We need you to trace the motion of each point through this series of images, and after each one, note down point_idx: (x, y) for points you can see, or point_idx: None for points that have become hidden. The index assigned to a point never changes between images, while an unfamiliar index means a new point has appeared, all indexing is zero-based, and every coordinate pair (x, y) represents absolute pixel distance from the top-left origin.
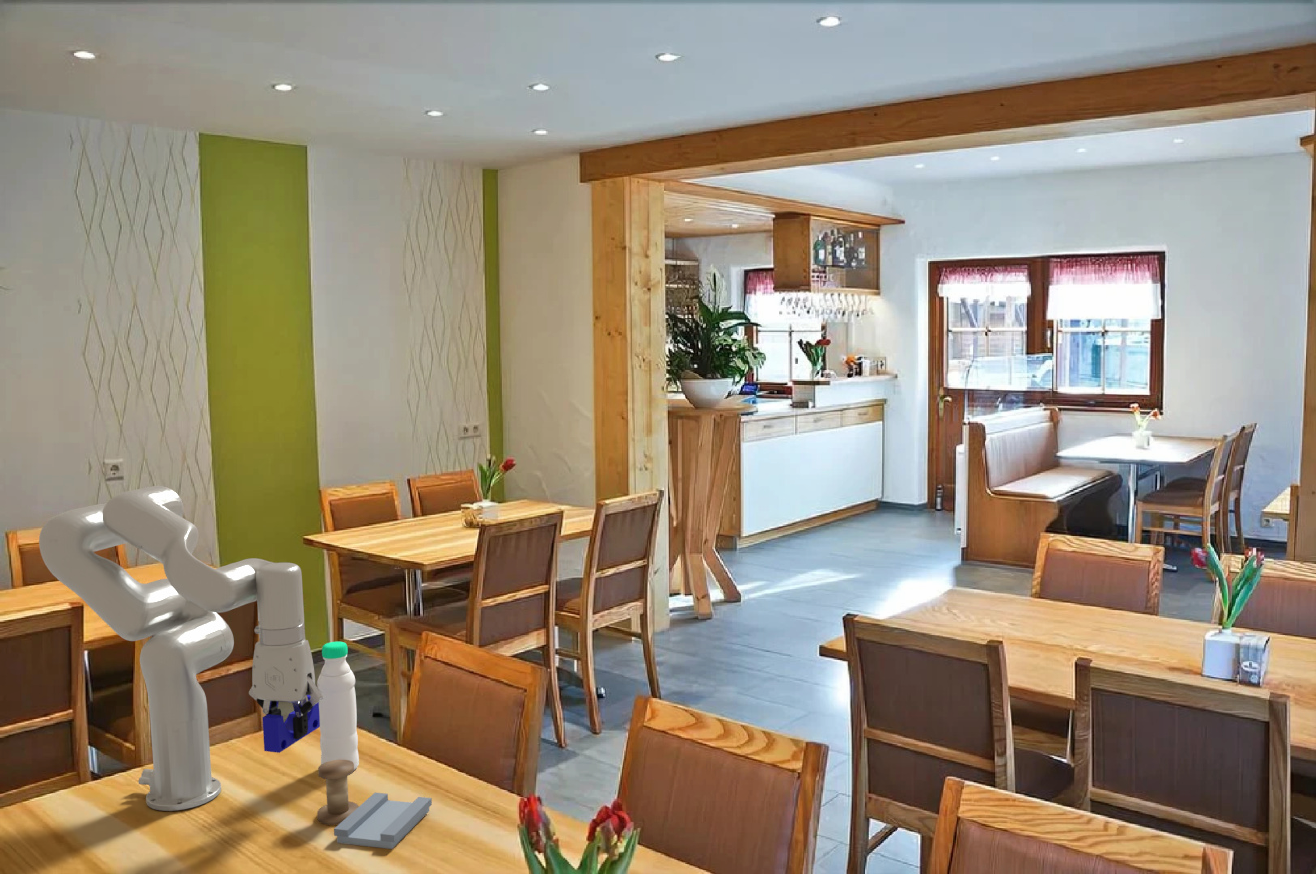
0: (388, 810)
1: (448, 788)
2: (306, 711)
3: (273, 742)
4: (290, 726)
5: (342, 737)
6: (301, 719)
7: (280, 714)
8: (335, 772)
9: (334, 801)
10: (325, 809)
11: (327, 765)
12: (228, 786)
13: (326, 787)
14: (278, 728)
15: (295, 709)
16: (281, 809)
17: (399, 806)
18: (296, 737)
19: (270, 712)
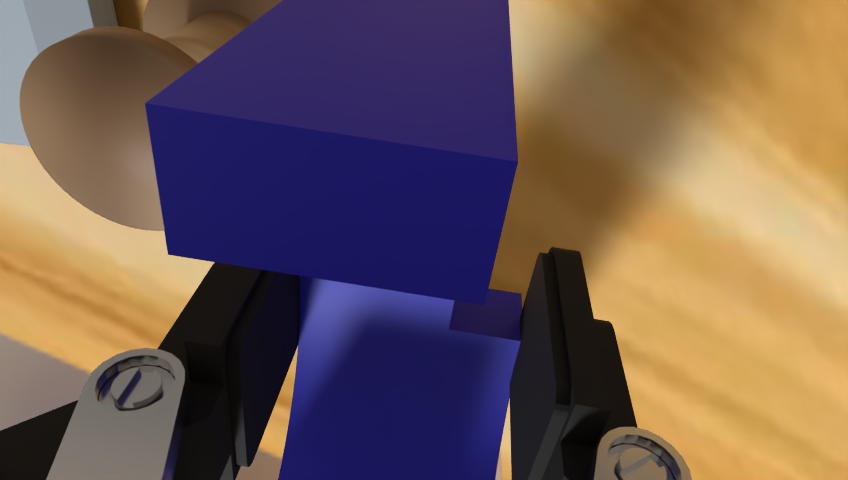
0: (16, 66)
1: (11, 278)
2: (33, 422)
3: (371, 1)
4: (425, 373)
5: None
6: (166, 349)
7: (514, 471)
8: (61, 58)
9: (184, 27)
10: None
11: None
12: (827, 257)
13: None
14: (223, 49)
15: (139, 441)
16: (514, 83)
17: (3, 105)
18: None
19: (583, 458)
